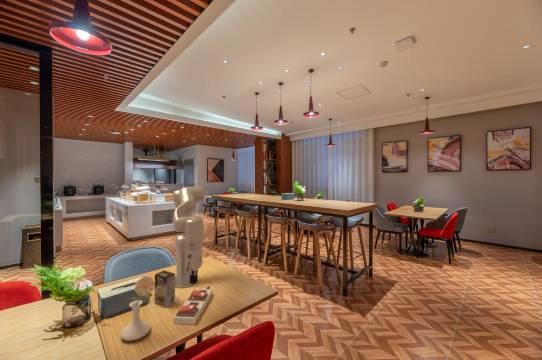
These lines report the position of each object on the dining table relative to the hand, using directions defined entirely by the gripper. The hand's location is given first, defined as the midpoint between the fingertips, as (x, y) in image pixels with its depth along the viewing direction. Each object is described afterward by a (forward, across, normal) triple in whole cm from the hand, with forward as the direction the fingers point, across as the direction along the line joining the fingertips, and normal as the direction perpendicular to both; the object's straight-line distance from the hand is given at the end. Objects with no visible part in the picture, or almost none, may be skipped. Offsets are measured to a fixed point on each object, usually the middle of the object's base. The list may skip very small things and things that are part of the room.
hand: (193, 282), depth 114 cm
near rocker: (+14, 0, +3) cm, 14 cm away
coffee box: (+18, +14, +21) cm, 31 cm away
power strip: (+18, +15, +3) cm, 23 cm away
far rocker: (+14, +14, +3) cm, 20 cm away
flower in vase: (+18, -12, +20) cm, 29 cm away
